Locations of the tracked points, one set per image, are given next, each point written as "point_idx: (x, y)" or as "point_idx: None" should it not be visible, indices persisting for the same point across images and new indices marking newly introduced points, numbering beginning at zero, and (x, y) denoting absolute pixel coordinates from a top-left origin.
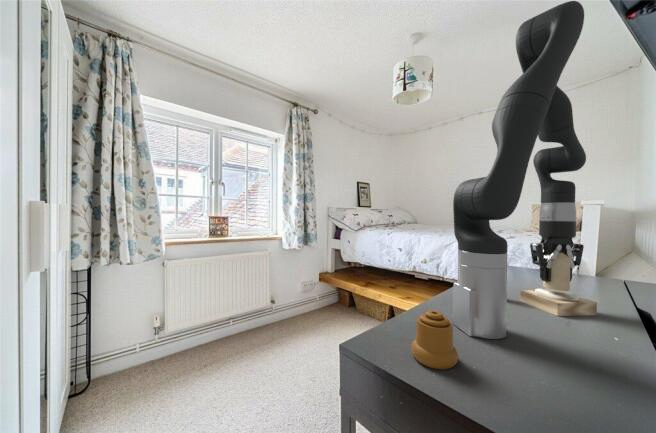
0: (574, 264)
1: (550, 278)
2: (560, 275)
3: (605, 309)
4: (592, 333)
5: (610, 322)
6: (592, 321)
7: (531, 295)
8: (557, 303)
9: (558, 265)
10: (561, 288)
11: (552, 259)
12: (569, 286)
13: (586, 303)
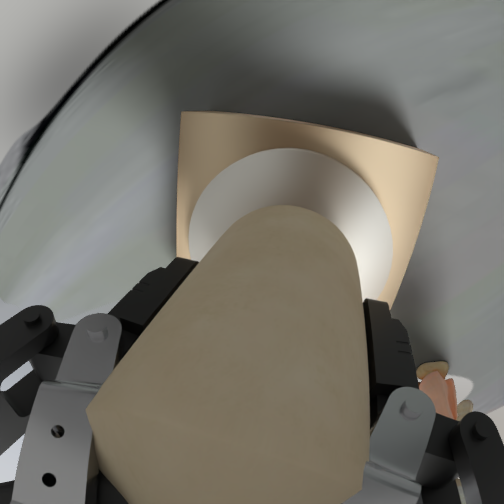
0: (61, 335)
1: (373, 311)
2: (336, 282)
3: (104, 162)
4: (461, 5)
5: (250, 36)
6: (323, 58)
7: (390, 302)
8: (438, 158)
9: (351, 379)
10: (330, 223)
11: (399, 476)
12: (254, 216)
13: (247, 116)
